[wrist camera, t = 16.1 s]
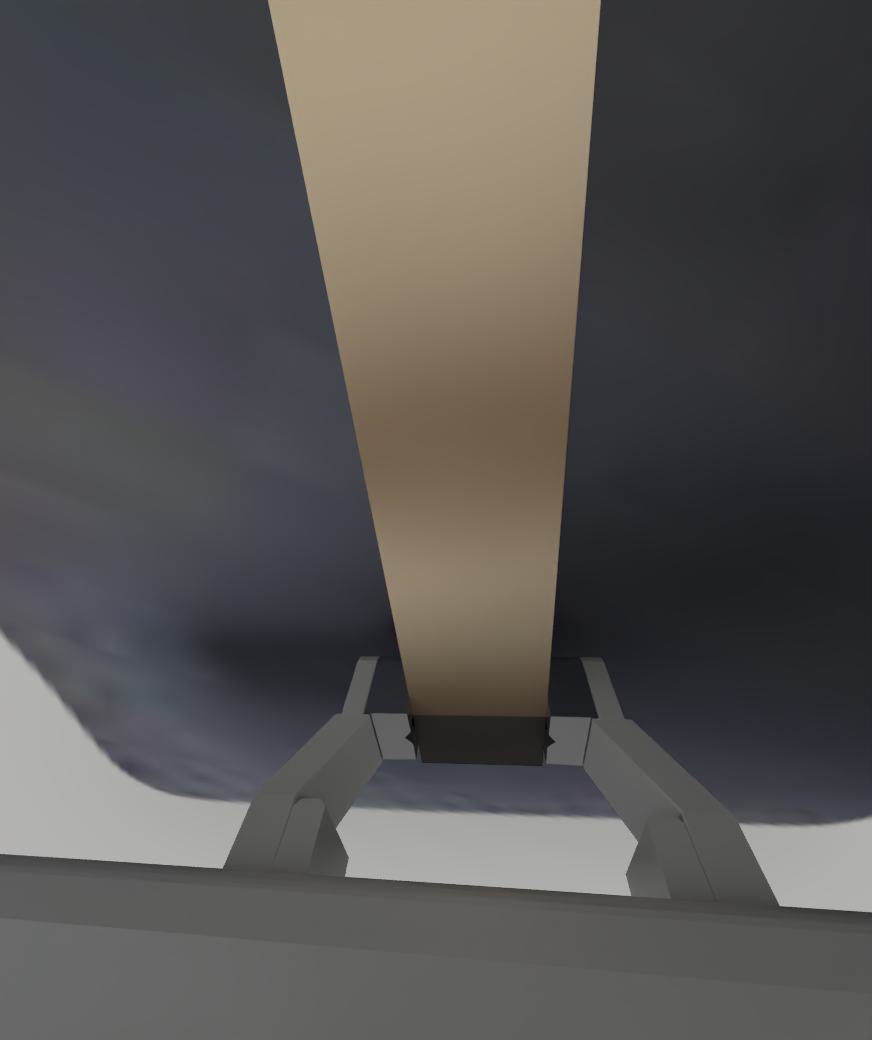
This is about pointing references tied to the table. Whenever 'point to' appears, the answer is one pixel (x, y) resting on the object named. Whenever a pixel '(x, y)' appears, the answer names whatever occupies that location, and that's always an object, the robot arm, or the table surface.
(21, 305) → the table surface
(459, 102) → the rod
